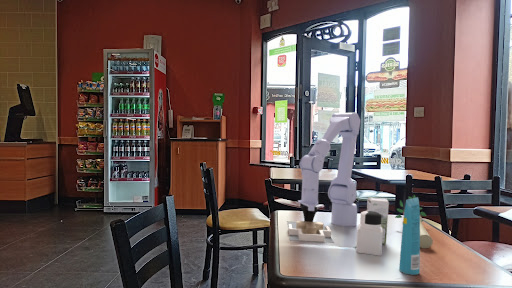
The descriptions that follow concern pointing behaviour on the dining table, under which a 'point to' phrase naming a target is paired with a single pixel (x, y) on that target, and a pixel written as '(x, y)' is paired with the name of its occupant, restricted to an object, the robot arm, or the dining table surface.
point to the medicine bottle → (370, 233)
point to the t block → (309, 227)
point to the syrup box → (382, 208)
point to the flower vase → (424, 236)
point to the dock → (310, 236)
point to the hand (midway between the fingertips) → (308, 227)
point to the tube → (410, 238)
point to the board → (296, 238)
